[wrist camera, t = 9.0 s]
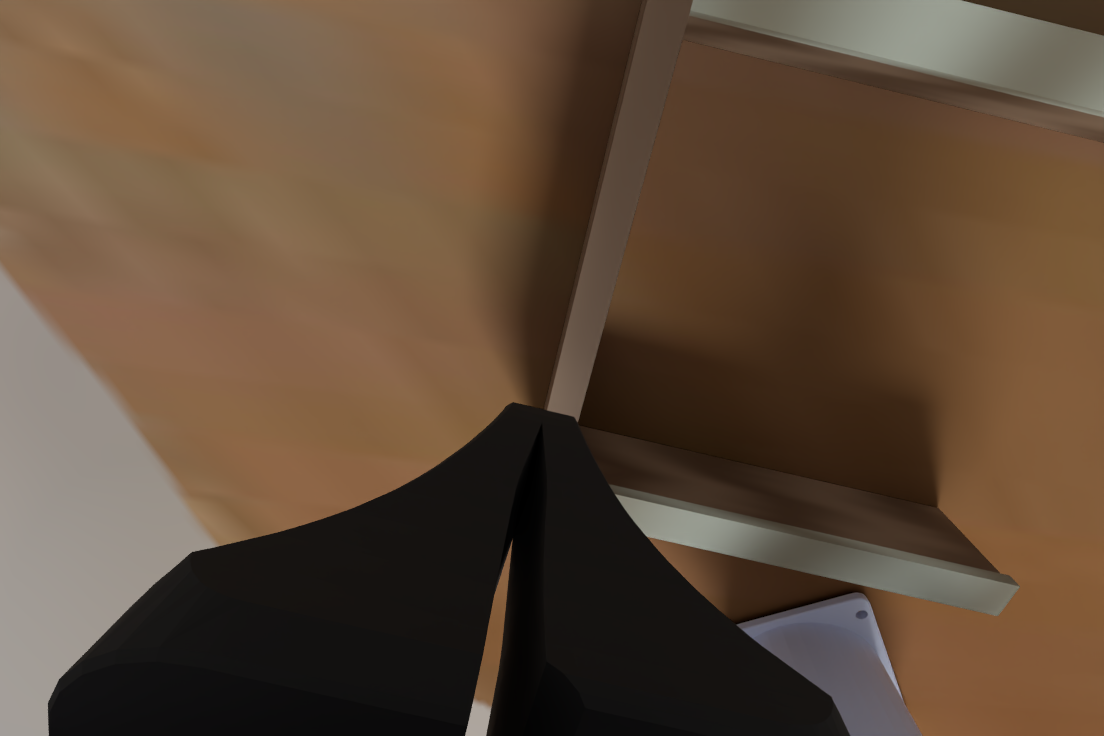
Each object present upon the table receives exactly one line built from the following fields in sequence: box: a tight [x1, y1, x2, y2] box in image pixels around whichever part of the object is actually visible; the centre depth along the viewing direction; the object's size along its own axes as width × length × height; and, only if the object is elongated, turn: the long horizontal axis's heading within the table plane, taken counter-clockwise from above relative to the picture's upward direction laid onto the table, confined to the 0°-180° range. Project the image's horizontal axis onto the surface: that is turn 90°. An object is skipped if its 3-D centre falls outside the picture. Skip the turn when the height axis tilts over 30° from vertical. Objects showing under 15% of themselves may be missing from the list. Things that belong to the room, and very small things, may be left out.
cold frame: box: [544, 0, 1104, 616], centre depth 17 cm, size 17×16×5 cm
